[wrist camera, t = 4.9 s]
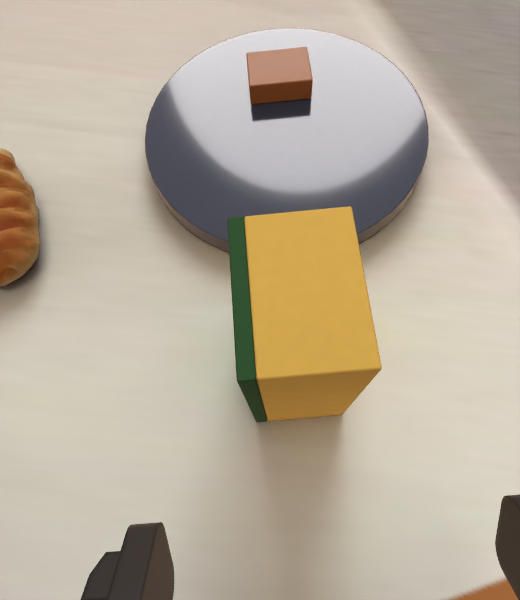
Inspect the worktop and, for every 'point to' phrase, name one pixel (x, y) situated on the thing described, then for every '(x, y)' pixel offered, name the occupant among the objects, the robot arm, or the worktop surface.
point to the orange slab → (279, 75)
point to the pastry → (16, 222)
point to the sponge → (300, 313)
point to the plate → (286, 137)
